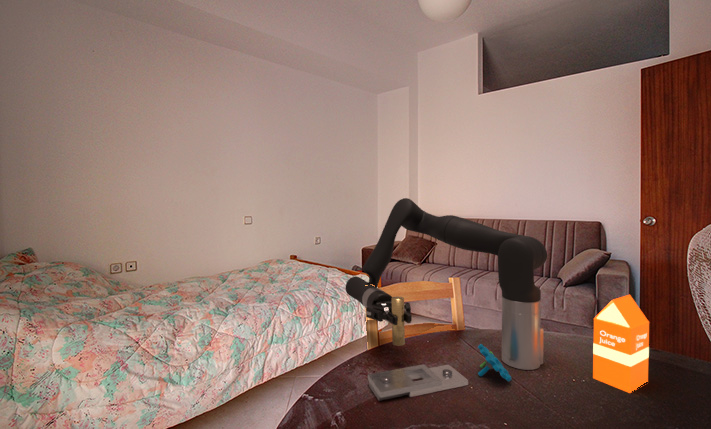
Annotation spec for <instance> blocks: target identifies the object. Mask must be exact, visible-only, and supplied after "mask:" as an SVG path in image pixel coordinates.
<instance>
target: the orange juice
mask: <svg viewBox="0 0 711 429" xmlns="http://www.w3.org/2000/svg"><path fill="white" fill-rule="evenodd" d="M649 344H650V321H649V320H648V319H647V317H646V315H645V314H644V312H643V311H642V310H641V308H640V307H639V305H638V304H637V302H636V301H635V299H634V298H633V297H632V295H631V294H626V295H624V296H620V297H618V298H614V299H612V300H611V301H609V303H608V304H607V305H606V306H604V307H603V309H602V310H601V311H600V312H599V313H597V315H596V316H595V317H594V318H593V344H592V346H593V347H592V354H593V357H592V378H593V380H597V381H598V382H601V383H604V384H607V385H608V386H611V387H613V388H616V389H619V390H621V391H623V392H626V393H628V394H631V393H633V392H634V390H635V391H637V390H638V389H639V388H638V387H640V386H641V385H643V384H644V383H646V382H648V383H649V356H650V345H649ZM643 386H644V385H643ZM641 387H642V386H641ZM641 387H640V388H641ZM637 388H638V389H637ZM632 391H633V392H632Z"/></svg>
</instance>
